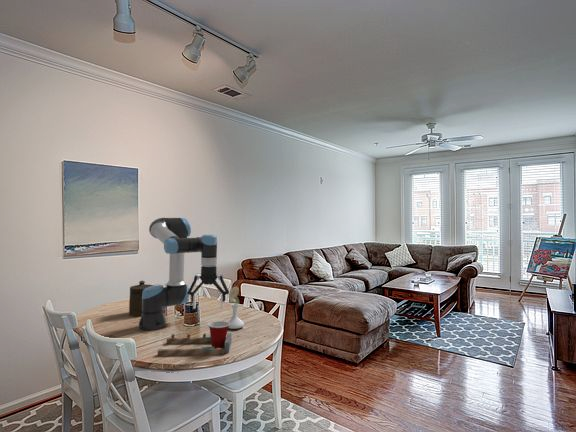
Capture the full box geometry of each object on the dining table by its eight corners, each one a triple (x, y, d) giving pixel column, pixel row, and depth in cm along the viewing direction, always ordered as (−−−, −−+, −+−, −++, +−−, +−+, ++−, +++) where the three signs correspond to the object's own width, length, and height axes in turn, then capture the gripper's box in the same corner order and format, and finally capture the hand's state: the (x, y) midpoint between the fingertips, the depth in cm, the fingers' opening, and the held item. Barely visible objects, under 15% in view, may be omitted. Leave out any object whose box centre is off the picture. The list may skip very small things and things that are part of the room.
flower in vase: (223, 325, 198) (223, 284, 198) (241, 323, 202) (242, 282, 202) (227, 332, 186) (228, 288, 186) (247, 330, 190) (247, 287, 190)
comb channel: (157, 355, 154) (157, 346, 154) (167, 342, 170) (167, 334, 170) (224, 354, 156) (224, 345, 156) (227, 341, 172) (227, 333, 172)
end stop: (224, 352, 158) (224, 342, 158) (227, 342, 171) (227, 333, 171) (228, 352, 158) (229, 342, 158) (231, 342, 171) (231, 332, 171)
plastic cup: (215, 341, 172) (217, 318, 172) (232, 346, 167) (234, 322, 167) (201, 347, 162) (203, 323, 162) (218, 353, 157) (221, 328, 157)
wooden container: (156, 310, 228) (156, 278, 228) (148, 316, 213) (148, 283, 213) (134, 310, 228) (135, 278, 228) (125, 316, 213) (125, 282, 213)
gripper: (181, 266, 159) (180, 310, 159) (233, 266, 161) (232, 310, 161) (185, 264, 166) (184, 306, 166) (234, 264, 168) (234, 305, 169)
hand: (208, 308), depth 164 cm, fingers open, 13 cm apart
